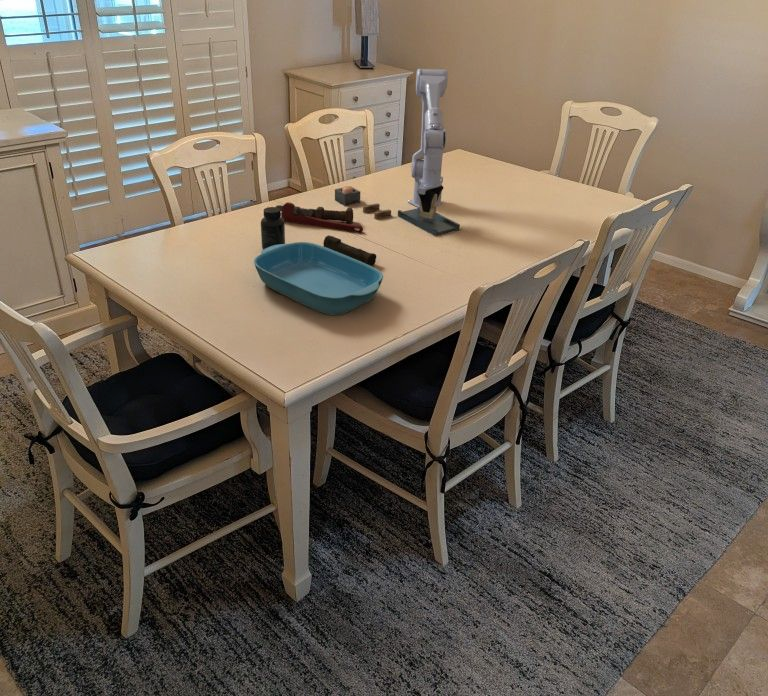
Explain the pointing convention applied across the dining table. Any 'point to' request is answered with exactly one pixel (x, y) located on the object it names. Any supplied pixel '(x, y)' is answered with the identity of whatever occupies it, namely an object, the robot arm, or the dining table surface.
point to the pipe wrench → (299, 216)
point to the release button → (347, 189)
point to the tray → (430, 222)
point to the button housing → (347, 197)
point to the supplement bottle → (272, 228)
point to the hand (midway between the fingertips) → (429, 209)
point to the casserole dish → (318, 276)
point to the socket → (374, 208)
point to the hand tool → (349, 250)
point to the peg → (432, 209)
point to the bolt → (333, 215)
